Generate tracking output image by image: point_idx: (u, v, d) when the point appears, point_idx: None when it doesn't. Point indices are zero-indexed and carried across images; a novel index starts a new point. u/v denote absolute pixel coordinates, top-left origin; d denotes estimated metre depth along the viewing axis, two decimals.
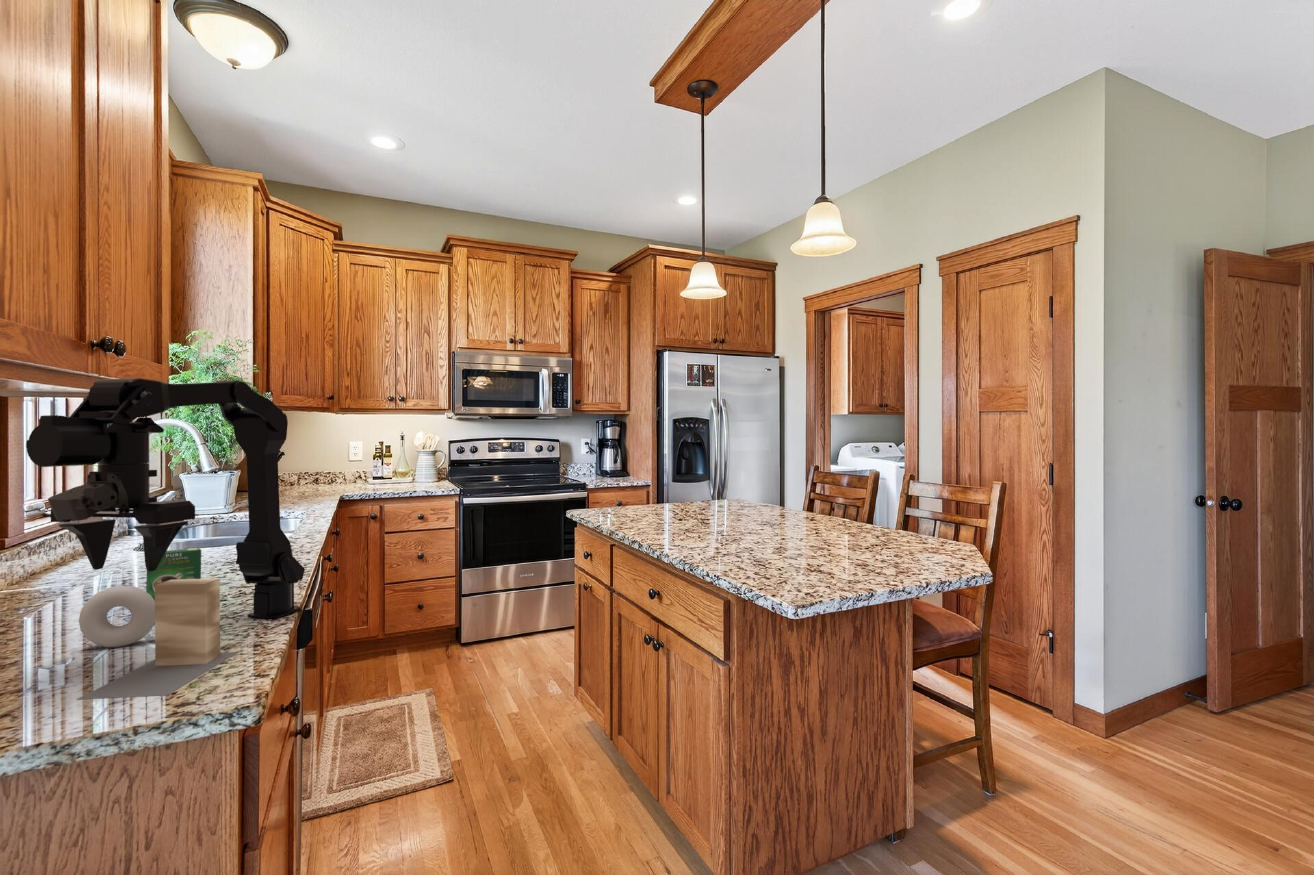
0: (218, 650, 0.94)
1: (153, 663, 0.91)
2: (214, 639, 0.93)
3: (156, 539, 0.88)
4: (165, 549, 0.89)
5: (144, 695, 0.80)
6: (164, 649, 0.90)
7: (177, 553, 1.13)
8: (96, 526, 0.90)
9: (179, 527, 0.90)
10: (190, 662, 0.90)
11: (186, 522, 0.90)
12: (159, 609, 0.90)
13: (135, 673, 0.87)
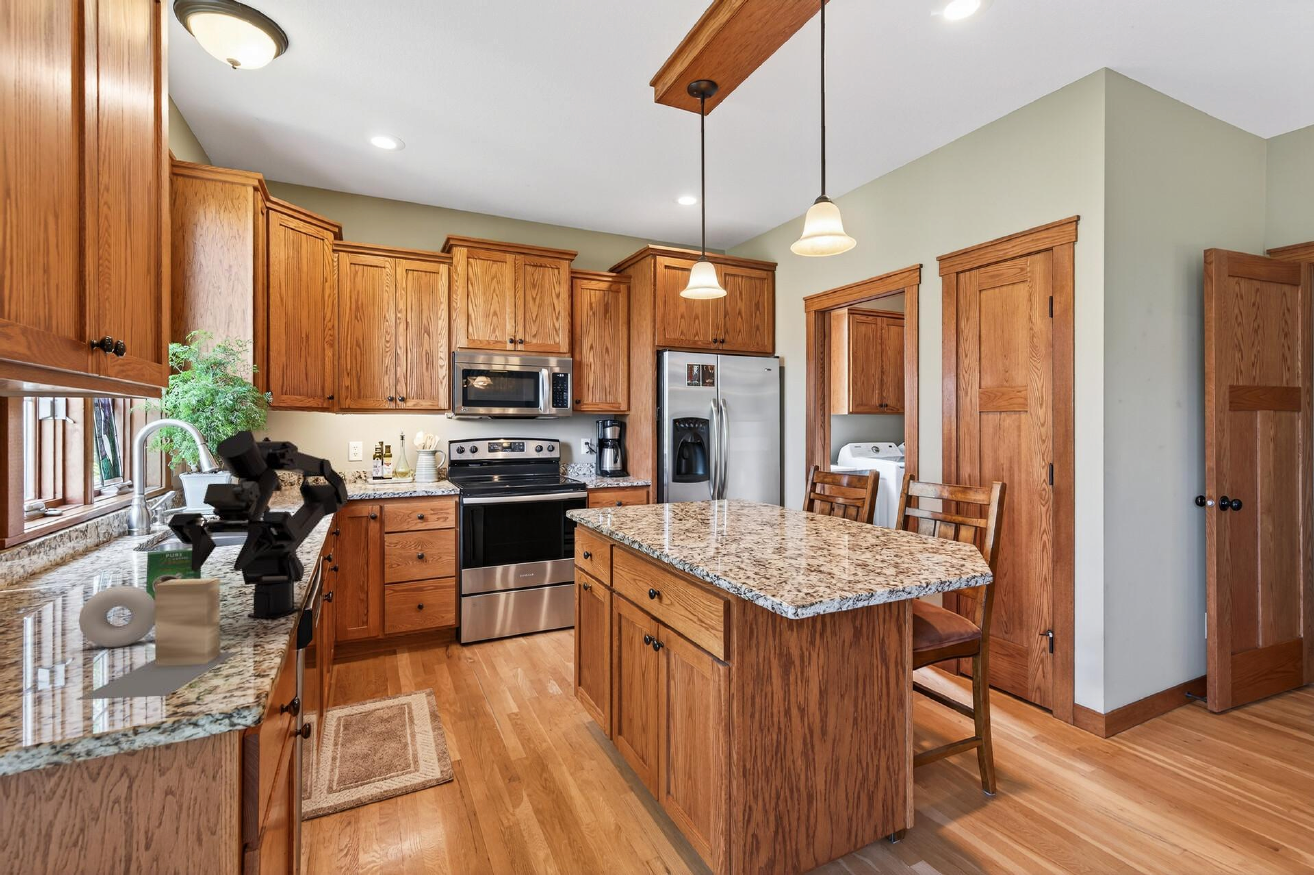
0: (218, 650, 0.94)
1: (153, 663, 0.91)
2: (214, 639, 0.93)
3: (254, 544, 1.02)
4: (252, 558, 1.02)
5: (144, 695, 0.80)
6: (164, 649, 0.90)
7: (177, 553, 1.13)
8: (208, 539, 1.03)
9: (269, 546, 1.05)
10: (190, 662, 0.90)
11: (278, 542, 1.06)
12: (159, 609, 0.90)
13: (135, 673, 0.87)
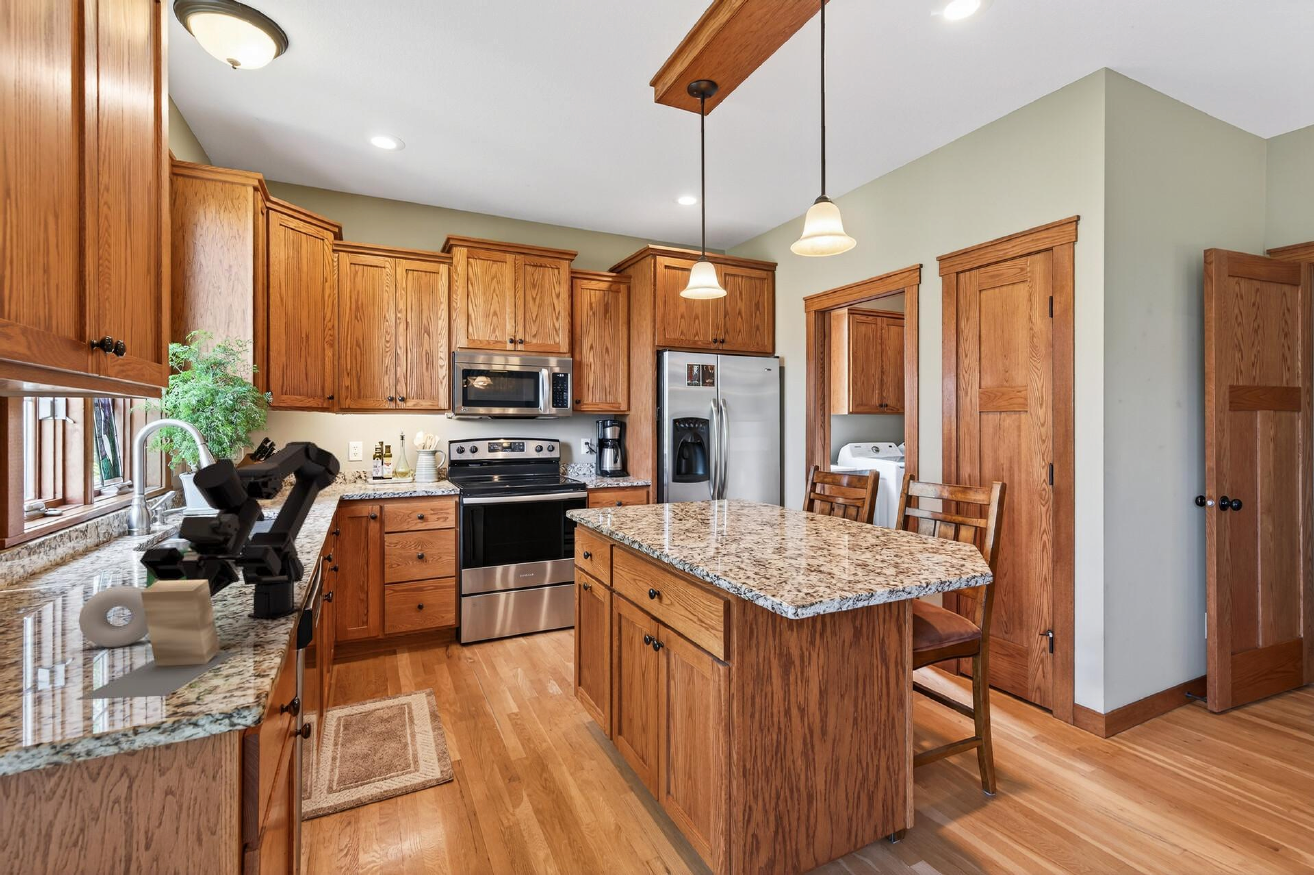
0: (217, 646, 0.93)
1: (153, 663, 0.91)
2: (211, 638, 0.92)
3: (211, 582, 0.96)
4: None
5: (144, 695, 0.80)
6: (161, 651, 0.90)
7: None
8: (203, 574, 0.97)
9: (229, 583, 0.98)
10: (190, 662, 0.90)
11: (239, 578, 0.99)
12: (149, 614, 0.88)
13: (135, 673, 0.87)
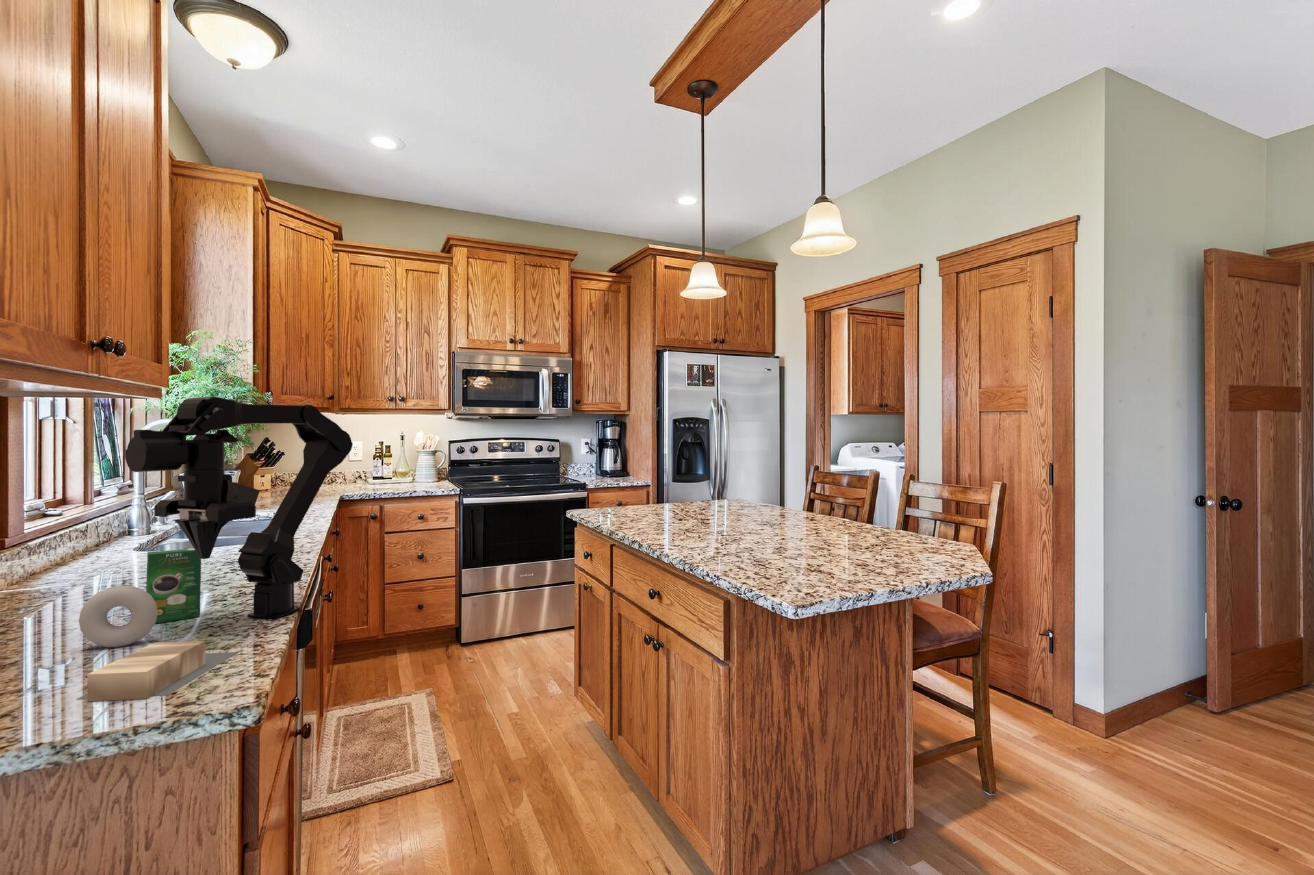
0: (201, 645, 0.90)
1: None
2: (192, 657, 0.88)
3: None
4: None
5: None
6: None
7: (177, 553, 1.13)
8: None
9: None
10: None
11: (176, 520, 1.05)
12: None
13: None
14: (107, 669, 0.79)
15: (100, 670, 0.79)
